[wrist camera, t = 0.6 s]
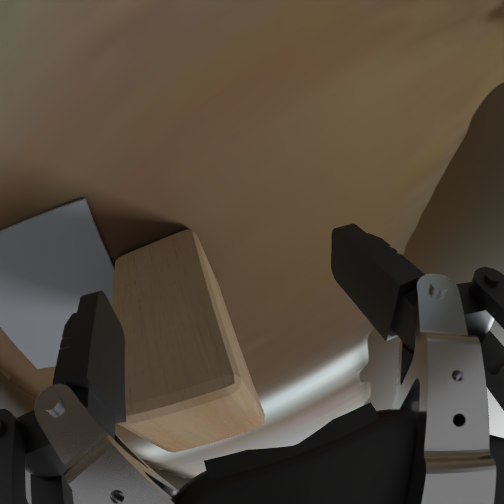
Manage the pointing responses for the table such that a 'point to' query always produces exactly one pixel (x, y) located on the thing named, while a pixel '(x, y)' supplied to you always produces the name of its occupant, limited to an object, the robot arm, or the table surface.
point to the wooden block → (180, 348)
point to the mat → (49, 277)
